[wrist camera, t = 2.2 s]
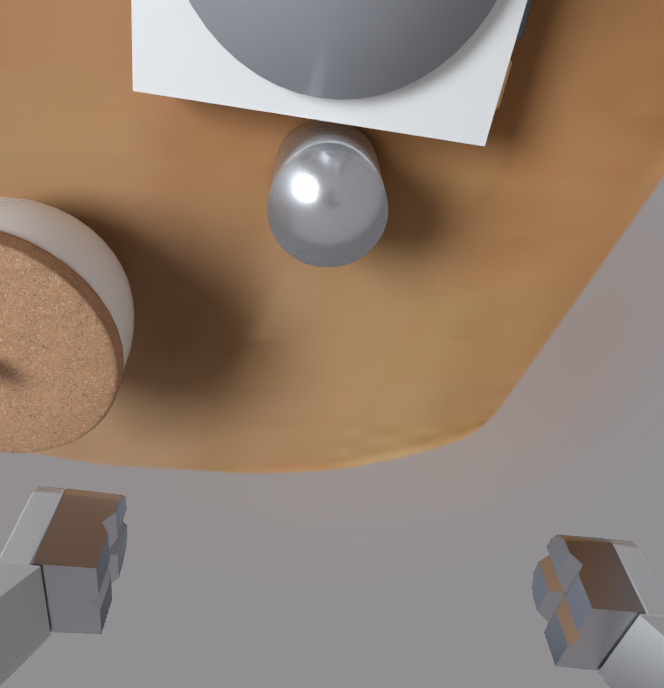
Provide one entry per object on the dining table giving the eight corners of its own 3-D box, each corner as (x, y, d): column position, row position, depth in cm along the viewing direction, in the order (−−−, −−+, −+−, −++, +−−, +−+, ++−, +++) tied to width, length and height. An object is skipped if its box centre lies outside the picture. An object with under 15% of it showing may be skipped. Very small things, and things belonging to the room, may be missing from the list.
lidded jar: (-115, 219, 30) (-266, 325, 22) (70, 123, 28) (-26, 203, 20) (33, 381, 35) (-46, 511, 28) (197, 312, 33) (161, 432, 25)
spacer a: (280, 109, 28) (274, 143, 23) (387, 126, 28) (400, 162, 24) (269, 212, 30) (261, 258, 26) (367, 226, 31) (375, 274, 27)
